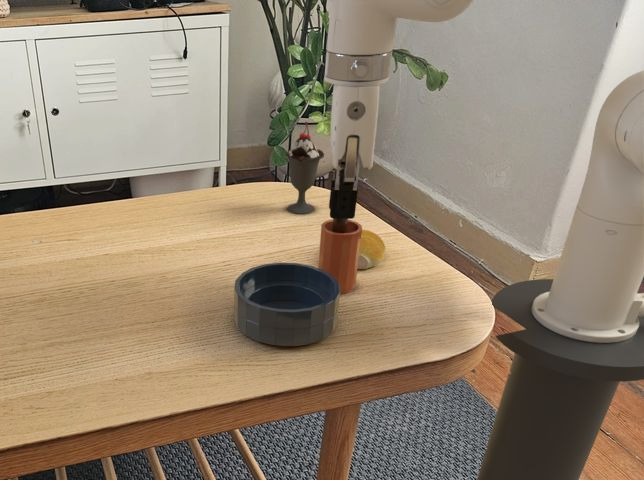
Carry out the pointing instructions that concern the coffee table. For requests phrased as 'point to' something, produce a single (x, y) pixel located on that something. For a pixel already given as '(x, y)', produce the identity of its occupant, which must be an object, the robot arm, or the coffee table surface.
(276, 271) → the bowl
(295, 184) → the sundae
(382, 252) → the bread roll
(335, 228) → the stirring stick
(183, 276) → the coffee table surface
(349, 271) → the crock
